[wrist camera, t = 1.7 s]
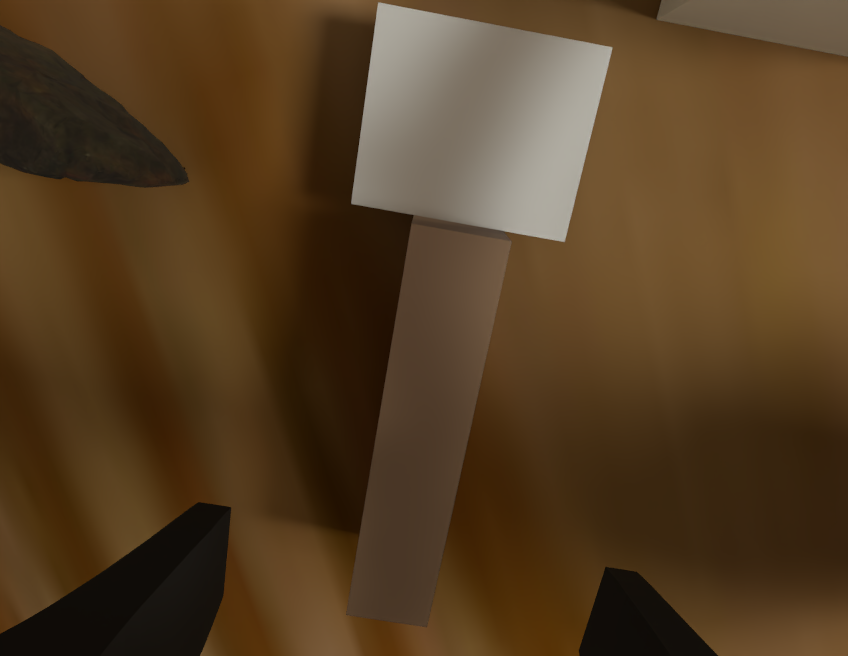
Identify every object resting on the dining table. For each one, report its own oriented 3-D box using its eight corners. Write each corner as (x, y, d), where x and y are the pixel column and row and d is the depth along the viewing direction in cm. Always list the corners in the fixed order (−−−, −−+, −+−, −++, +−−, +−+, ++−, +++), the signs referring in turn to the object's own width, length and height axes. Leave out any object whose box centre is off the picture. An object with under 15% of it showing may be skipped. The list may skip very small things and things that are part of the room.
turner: (591, 59, 17) (637, 33, 13) (474, 550, 22) (482, 635, 18) (385, 20, 16) (370, -19, 13) (314, 524, 21) (288, 606, 18)
